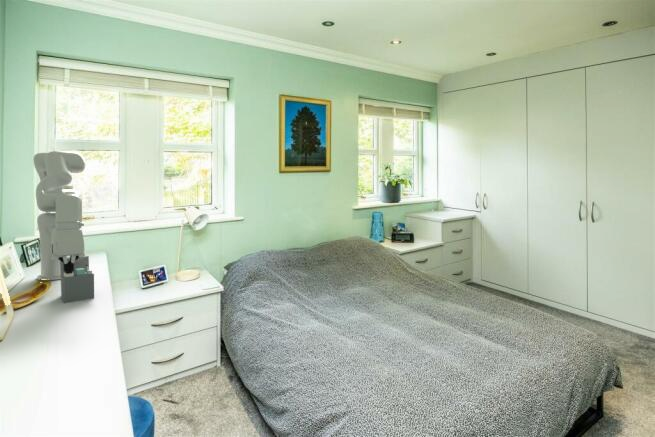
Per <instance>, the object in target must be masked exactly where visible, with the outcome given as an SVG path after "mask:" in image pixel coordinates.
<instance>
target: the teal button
mask: <svg viewBox="0 0 655 437" xmlns="http://www.w3.org/2000/svg"><path fill="white" fill-rule="evenodd" d="M75 275H76V276H79V275H85V269H84V268H79V269H75Z"/></svg>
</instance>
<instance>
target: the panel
mask: <svg viewBox="0 0 655 437" xmlns="http://www.w3.org/2000/svg"><path fill="white" fill-rule="evenodd" d="M60 295H61V302H63V303H64V304H68V303H69V304H70V303H74V302H80V301H85V300H91V299H95V273H94V272H92V274H87V272H85V275H79V276H76V275H75V274H74V276H72V277H64V275H61V279H60Z"/></svg>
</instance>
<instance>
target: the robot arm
mask: <svg viewBox="0 0 655 437" xmlns="http://www.w3.org/2000/svg"><path fill="white" fill-rule="evenodd" d="M33 166H34V169H35V171H36V173H37V175H38V177H39V183H38V184H37V185H36V187H35V198H36V205H37V208H38V210H40V212H42V213H41V214H39V215H38V216H37V224H36V225H37V228H38V233H39V243H40V244H39V250H40V251H39V252H40V274H39V275H37V276H36V279H37V281H38V280H39V281H41V280H40V279H49V280H48V281H57V280H61V270H60V261H61V262H63V266H64V272H65V273H67V274H69V273H70V274H71V273H72V271H74V263H75V261H76V260H77V259H78V258H81V257H84V256H86V255H85V241H84V234H83V230H82V227H84V225H85V224H84V222H83V199H82V198H83V197H82V195H81V193H80V191H78V190H75V189H64V187H66V186H68V185H69V184H70V183H71V182H72V180H73V175H72V174H79V173H82V172H83V171H84V170H85V168H86V160H85V157H84V156H83V155H82V153H79V152H72V151H59V150H57V151H56V150H55V151H49V152H38V153H36V154H34V156H33ZM69 256H70V260H69V262H68V261H67V257H69Z"/></svg>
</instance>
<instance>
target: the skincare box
mask: <svg viewBox="0 0 655 437" xmlns="http://www.w3.org/2000/svg"><path fill="white" fill-rule="evenodd" d="M89 257H90V256H89V255H85V256H84V257H81V258H78V259H77V260H76V261H75V263H74V271H72V272H73V273H74V274H75V269H79V268H84V269H85V272H87V268H86V264H88V270H90V260H89V259H90V258H89ZM69 260H70V256H67V261H68V262H69ZM60 270H61V275H64V273H65V272H64V266H63V262H61V261H60Z"/></svg>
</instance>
